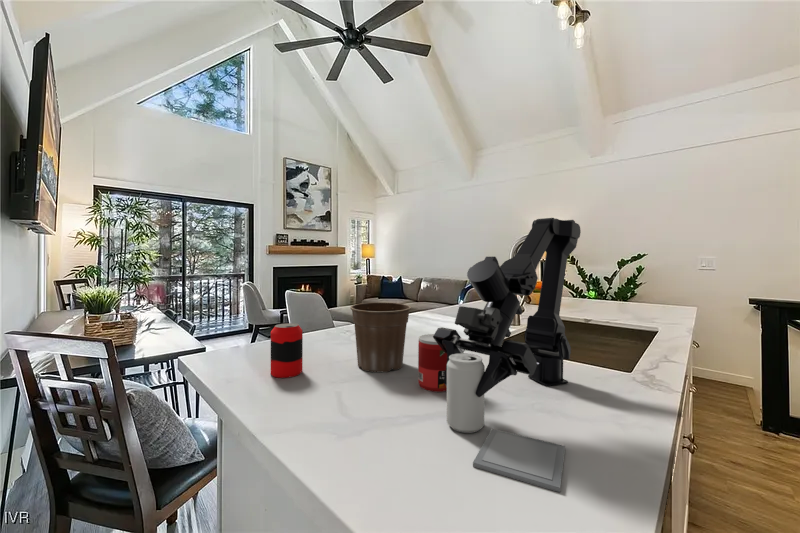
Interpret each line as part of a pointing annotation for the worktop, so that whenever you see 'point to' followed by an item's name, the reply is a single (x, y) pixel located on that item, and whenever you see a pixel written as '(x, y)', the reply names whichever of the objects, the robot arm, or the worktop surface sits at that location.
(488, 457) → the coaster
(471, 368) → the beverage can
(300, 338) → the soda can
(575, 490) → the worktop surface
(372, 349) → the plant pot
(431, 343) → the canned food
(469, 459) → the worktop surface
